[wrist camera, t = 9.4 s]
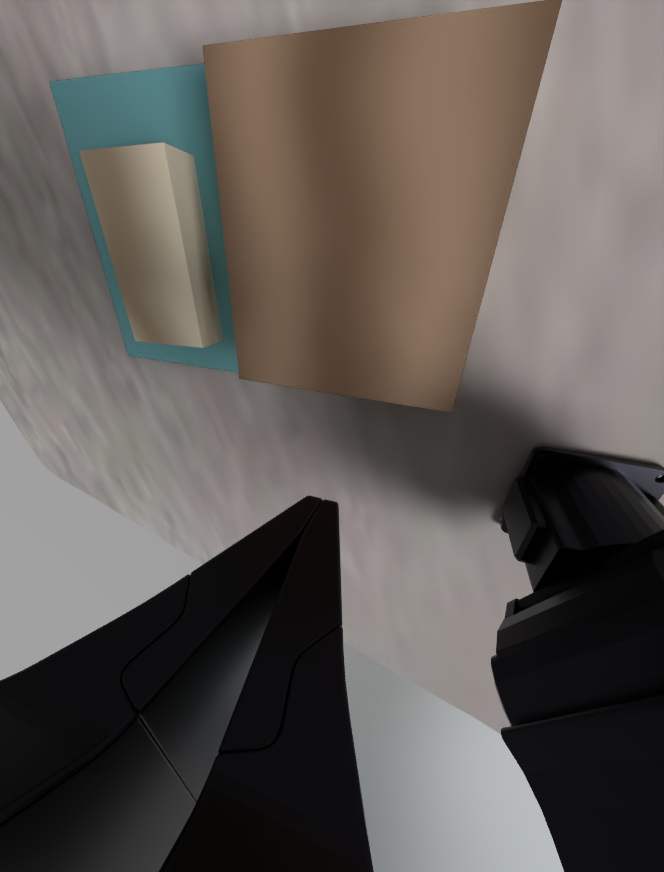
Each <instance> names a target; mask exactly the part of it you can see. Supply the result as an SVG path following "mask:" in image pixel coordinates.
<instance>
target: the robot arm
mask: <svg viewBox="0 0 664 872" xmlns="http://www.w3.org/2000/svg"><path fill="white" fill-rule="evenodd" d="M541 454H546V456H545V457H543V458H539V457H538V456H539V455H541ZM659 475H663V476H662V477H660V478H657V479H655V478H656V477H657V476H659ZM663 494H664V467H660V466H654V465H648V464H642V463H637V462H631V461H625V460H619V459H613V458H608V457H602V456H596V455H590V454H584V453H579V452H573V451H567V450H561V449H555V448H550V447H537V448H535V449H534V450H533V451H532V452H531V454H530V456H529V459H528V461H527V463H526V465H525V468H524V470H523V472H522V474H521V476H519V477H517V478H515V480H514V482H513V484H512V487H511V489H510V491H509V493H508V496H507V498H506V500H505V503H504V505H503V507H502V511H503V514H504V515H503V517H502V519H501V522H500V525H501V529H502V530H503V531H504V532H506V533H508V534H509V538H510V542H511V546H512V549H513V553H514V556H515V558H516V559H517V560H518V561H520V562H524V563H525V565H526V568H527V572H528V575H529V579H530V582H531V586H532V589H533V592H534V593H532V594H530V595H528V596H526V597H524V598H522V599H520V600H519V599H514V600H512V601H510V602H508V603H507V608H506V614H505V619H504V620H503V622H502V624H501V626H500V628H499V629H498V631H497V646H496V654H497V655H495V656H492V658H491V668H492V672H493V677H494V682H495V686H496V690H497V692H498V695H499V698H500V701H501V704H502V707H503V710H504V712H505V714H506V716H507V719H508V721H509V723H510V725H511V726H510V727H505V728H502V729H501V735H502V738H503V740H504V742H505V744H506V745H507V747H508V748H509V750H510V751H511V753H512V755H513V756H514V758H515V759H516V761H517V763H518V764H519V766H520V767H521V769H522V771H523V772H524V774H525V776H526V778H527V781H528V783H529V785H530V787H531V788H532V791H533V793H534V795H535V797H536V799H537V801H538V803H539V805H540V807H541V809H542V812H543V815H544V817H545V820H546V822H547V825H548V828H549V830H550V833H551V835H552V838H553V841H554V844H555V846H556V849H557V852H558V855H559V858H560V860H561V863H562V866H563V869H564V872H664V506H663V505H662V504H661V503H660V502H659V501H658V500H659V499H660V498H661V496H662V495H663ZM0 872H374V871H373V866H372V859H371V854H370V847H369V841H368V835H367V828H366V821H365V814H364V808H363V801H362V795H361V788H360V782H359V774H358V768H357V761H356V754H355V749H354V741H353V735H352V728H351V721H350V714H349V706H348V698H347V689H346V681H345V668H344V652H343V628H342V599H341V568H340V537H339V507H338V503H337V502H334V501H330V500H322V499H321V498H318V497H313V496H306V497H305V498H303V499H302V500H300V501H299V502H297V503H296V504H294V505H293V506H291V507H290V508H288V509H287V510H285V511H283V512H282V513H280V514H279V515H277V516H276V517H274V518H273V519H271V520H270V521H268V522H267V523H265V524H264V525H262V526H261V527H259V528H258V529H256V530H255V531H253V532H252V533H250V534H249V535H247V536H246V537H244V538H243V539H241V540H240V541H238V542H237V543H235V544H234V545H232V546H231V547H229V548H227V549H226V550H224V551H223V552H221V553H220V554H218V555H217V556H215V557H214V558H212V559H211V560H209V561H208V562H206V563H205V564H203V565H202V566H200V567H199V568H197V569H196V570H194V571H193V572H192V573H191V575H186V576H185V577H183V578H182V579H180V580H179V581H177V582H176V583H174V584H173V585H171V586H170V587H168V588H167V589H165V590H163V591H162V592H160V593H159V594H157V595H155V596H154V597H152V598H151V599H149V600H147V601H146V602H144V603H142V604H141V605H139V606H137V607H136V608H134V609H132V610H130V611H129V612H127V613H126V614H123V615H122V616H120V617H118V618H117V619H115V620H113V621H111V622H109V623H108V624H106V625H104V626H102V627H101V628H99V629H97V630H95V631H93V632H91V633H90V634H88V635H86V636H84V637H83V638H81V639H79V640H77V641H75V642H74V643H72V644H70V645H68V646H66V647H65V648H63V649H61V650H59V651H58V652H56V653H54V654H52V655H50V656H48V657H47V658H45V659H43V660H41V661H39V662H38V663H36V664H34V665H32V666H30V667H28V668H26V669H24V670H23V671H20V672H18V673H16V674H14V675H12V676H10V677H7V678H5V679H3V680H0Z"/></svg>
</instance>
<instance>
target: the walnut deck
mask: <svg viewBox="0 0 664 872" xmlns="http://www.w3.org/2000/svg"><path fill="white" fill-rule="evenodd" d="M561 3H562V0H544V1H537V2H529V3H522V4H514V5H507V6H499V7H491V8H484V9H476V10H469V11H461V12H453V13H446V14H438V15H431V16H423V17H415V18H408V19H400V20H393V21H385V22H378V23H370V24H362V25H355V26H347V27H340V28H332V29H324V30H317V31H309V32H302V33H294V34H286V35H279V36H271V37H264V38H256V39H249V40H241V41H233V42H226V43H218V44H211V45H203V55H204V64H205V73H206V82H207V91H208V100H209V109H210V118H211V127H212V136H213V145H214V154H215V163H216V172H217V181H218V190H219V199H220V208H221V217H222V226H223V235H224V244H225V253H226V262H227V271H228V280H229V289H230V298H231V307H232V316H233V325H234V334H235V344H236V353H237V362H238V371H239V379H244V380H250V381H257V382H263V383H269V384H275V385H282V386H288V387H294V388H300V389H307V390H313V391H319V392H326V393H332V394H338V395H344V396H351V397H357V398H363V399H369V400H376V401H382V402H388V403H394V404H401V405H407V406H413V407H419V408H426V409H432V410H438V411H445V412H451V413H452V410H453V406H454V402H455V399H456V395H457V391H458V387H459V384H460V380H461V376H462V373H463V369H464V365H465V361H466V358H467V354H468V350H469V346H470V343H471V339H472V335H473V331H474V328H475V324H476V320H477V317H478V313H479V309H480V305H481V302H482V298H483V294H484V290H485V287H486V283H487V279H488V275H489V272H490V268H491V264H492V260H493V257H494V253H495V249H496V246H497V242H498V238H499V234H500V231H501V227H502V223H503V219H504V216H505V212H506V208H507V204H508V201H509V197H510V193H511V190H512V186H513V182H514V178H515V175H516V171H517V167H518V163H519V160H520V156H521V152H522V148H523V145H524V141H525V137H526V134H527V130H528V126H529V122H530V119H531V115H532V111H533V107H534V104H535V100H536V96H537V92H538V89H539V85H540V81H541V78H542V74H543V70H544V66H545V63H546V59H547V55H548V51H549V48H550V44H551V40H552V36H553V33H554V29H555V25H556V21H557V18H558V14H559V10H560V7H561Z"/></svg>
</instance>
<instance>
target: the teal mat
mask: <svg viewBox="0 0 664 872" xmlns="http://www.w3.org/2000/svg"><path fill="white" fill-rule="evenodd" d="M49 83H50V86H51V90H52V93H53V97H54V100H55V103H56V107H57V110H58V114H59V117H60V121H61V124H62V128H63V131H64V135H65V138H66V141H67V145H68V148H69V152H70V155H71V159H72V162H73V166H74V169H75V173H76V176H77V180H78V183H79V186H80V190H81V193H82V197H83V200H84V204H85V207H86V211H87V214H88V218H89V221H90V224H91V228H92V231H93V235H94V238H95V242H96V245H97V249H98V252H99V256H100V259H101V263H102V266H103V269H104V273H105V276H106V280H107V283H108V287H109V290H110V294H111V297H112V301H113V304H114V307H115V311H116V314H117V318H118V321H119V325H120V328H121V332H122V335H123V339H124V342H125V346H126V349H127V352H128V355H129V356H135V357H141V358H148V359H154V360H161V361H167V362H174V363H180V364H187V365H193V366H200V367H206V368H213V369H219V370H226V371H232V372H239V371H238V362H237V353H236V344H235V334H234V325H233V316H232V307H231V298H230V289H229V280H228V271H227V262H226V253H225V244H224V235H223V226H222V217H221V208H220V199H219V190H218V181H217V172H216V163H215V154H214V145H213V136H212V127H211V118H210V109H209V100H208V91H207V82H206V73H205V64H197V65H188V66H180V67H171V68H162V69H154V70H145V71H136V72H128V73H119V74H110V75H102V76H93V77H84V78H76V79H67V80H58V81H50V82H49ZM162 142H164V143H166V144H168V145H171V146H173V147H175V148H177V149H180V150H182V151H184V152H186V153H189V154H191V155H193V156H194V160H195V166H196V172H197V179H198V185H199V191H200V198H201V204H202V211H203V217H204V223H205V230H206V236H207V242H208V249H209V255H210V261H211V268H212V274H213V281H214V287H215V293H216V300H217V306H218V312H219V319H220V325H221V332H222V338H223V341H221V342H218V343H215V344H213V345H210V346H207V347H204V348H199V347H189V346H179V345H169V344H159V343H149V342H139V341H135V339H134V335H133V332H132V328H131V325H130V322H129V318H128V315H127V311H126V308H125V305H124V301H123V298H122V295H121V291H120V288H119V284H118V281H117V278H116V274H115V271H114V267H113V264H112V261H111V257H110V254H109V251H108V247H107V244H106V240H105V237H104V234H103V230H102V227H101V223H100V220H99V217H98V213H97V210H96V207H95V203H94V200H93V196H92V193H91V190H90V186H89V183H88V179H87V176H86V173H85V169H84V166H83V162H82V159H81V156H80V152H79V151H82V150H92V149H102V148H112V147H122V146H132V145H142V144H152V143H162Z"/></svg>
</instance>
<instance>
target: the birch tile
mask: <svg viewBox="0 0 664 872" xmlns="http://www.w3.org/2000/svg"><path fill="white" fill-rule="evenodd" d="M79 152H80V156H81V159H82V162H83V166H84V169H85V173H86V176H87V179H88V183H89V186H90V190H91V193H92V196H93V200H94V203H95V207H96V210H97V213H98V217H99V220H100V223H101V227H102V230H103V234H104V237H105V240H106V244H107V247H108V251H109V254H110V257H111V261H112V264H113V267H114V271H115V274H116V278H117V281H118V284H119V288H120V291H121V295H122V298H123V301H124V305H125V308H126V311H127V315H128V318H129V322H130V325H131V328H132V332H133V335H134V339H135V341H139V342H149V343H159V344H169V345H179V346H189V347H199V348H204V347H207V346H210V345H213V344H215V343H218V342H221V341H223V338H222V332H221V325H220V319H219V312H218V306H217V300H216V293H215V287H214V281H213V274H212V268H211V261H210V255H209V249H208V242H207V236H206V230H205V223H204V217H203V211H202V204H201V198H200V191H199V185H198V179H197V172H196V166H195V160H194V156H193V155H191V154H189V153H186V152H184V151H182V150H180V149H177V148H175V147H173V146H171V145H168V144H166V143H164V142H162V143H152V144H142V145H132V146H122V147H112V148H102V149H92V150H82V151H79Z"/></svg>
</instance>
